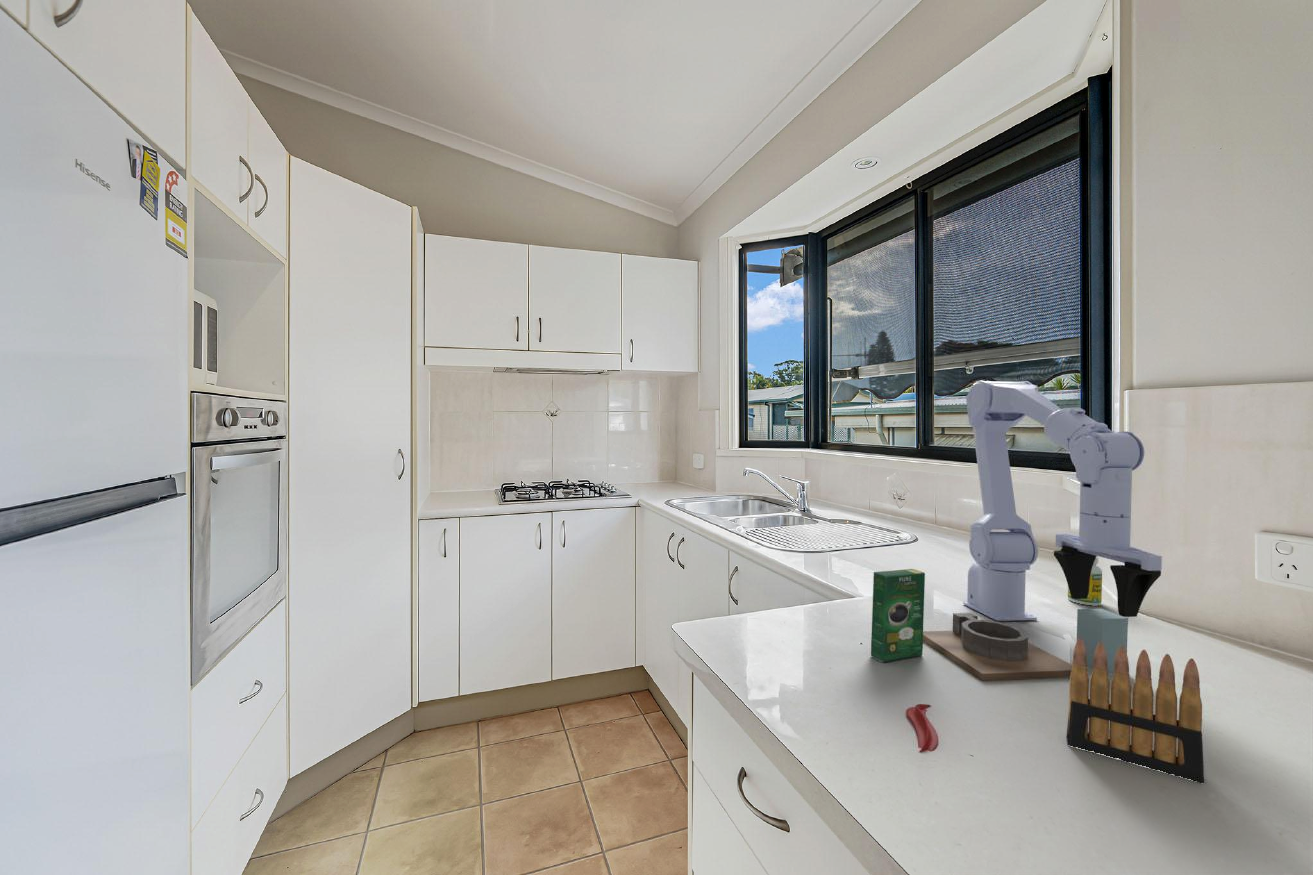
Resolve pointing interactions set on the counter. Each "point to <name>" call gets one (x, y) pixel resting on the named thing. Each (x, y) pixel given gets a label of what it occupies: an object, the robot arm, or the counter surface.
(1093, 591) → the supplement bottle
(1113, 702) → the ammunition clip
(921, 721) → the cayenne pepper
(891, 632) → the coffee box
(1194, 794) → the counter surface
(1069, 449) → the robot arm
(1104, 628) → the blue-gray rectangular block
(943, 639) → the cup bracket
